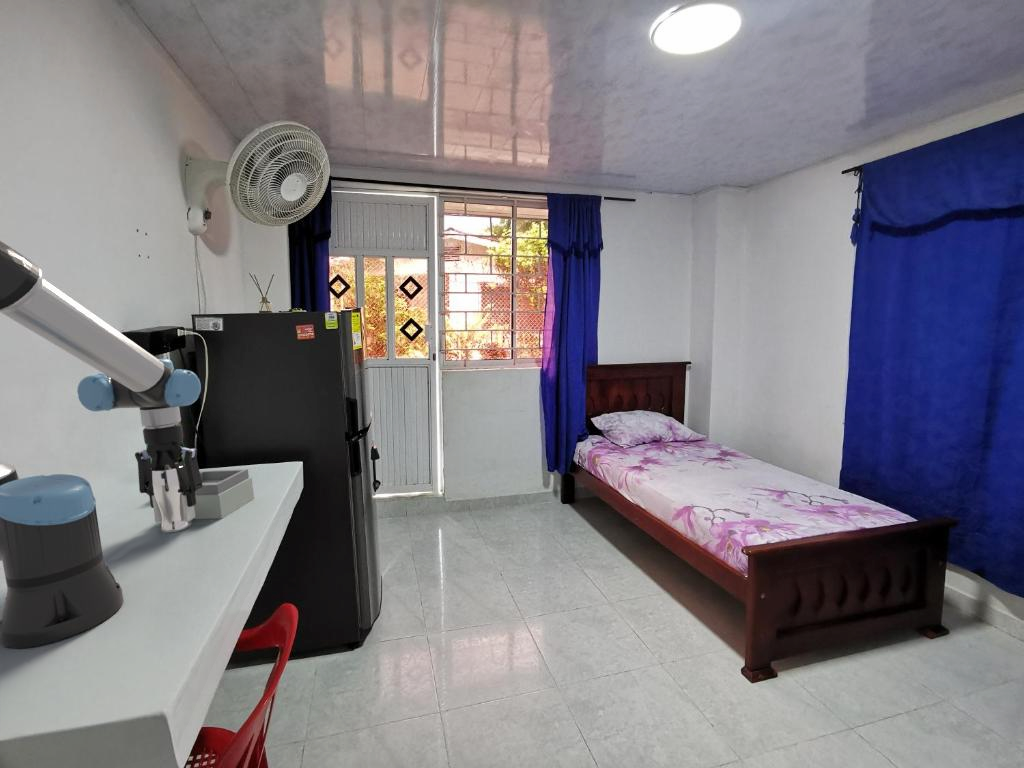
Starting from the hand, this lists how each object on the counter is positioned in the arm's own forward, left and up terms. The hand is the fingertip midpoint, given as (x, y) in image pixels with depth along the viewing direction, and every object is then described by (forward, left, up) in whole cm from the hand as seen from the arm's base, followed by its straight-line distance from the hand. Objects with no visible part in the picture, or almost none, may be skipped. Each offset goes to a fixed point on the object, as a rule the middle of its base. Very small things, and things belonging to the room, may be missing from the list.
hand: (175, 519), depth 119 cm
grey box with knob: (+12, +1, -2) cm, 12 cm away
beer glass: (0, 0, -2) cm, 2 cm away
